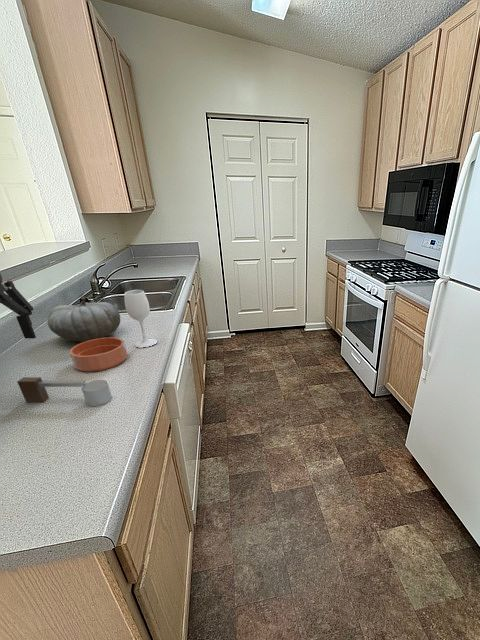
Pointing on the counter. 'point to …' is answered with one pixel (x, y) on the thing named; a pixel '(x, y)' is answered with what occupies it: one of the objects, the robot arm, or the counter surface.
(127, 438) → the counter surface
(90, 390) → the ladle
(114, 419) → the counter surface
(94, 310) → the gourd
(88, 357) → the bowl
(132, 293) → the wineglass
